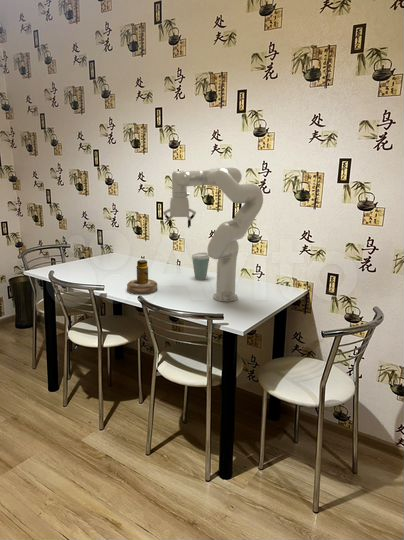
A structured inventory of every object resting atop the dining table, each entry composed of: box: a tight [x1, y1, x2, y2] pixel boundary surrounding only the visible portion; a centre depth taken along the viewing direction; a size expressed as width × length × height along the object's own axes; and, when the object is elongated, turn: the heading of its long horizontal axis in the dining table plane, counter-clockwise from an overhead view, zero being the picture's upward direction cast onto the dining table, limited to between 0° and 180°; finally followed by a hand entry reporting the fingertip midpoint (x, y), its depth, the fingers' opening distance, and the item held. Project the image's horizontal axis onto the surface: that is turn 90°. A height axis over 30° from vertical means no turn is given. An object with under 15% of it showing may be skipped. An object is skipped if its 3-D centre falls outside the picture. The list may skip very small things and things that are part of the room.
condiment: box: [131, 259, 150, 286], centre depth 228 cm, size 7×8×12 cm
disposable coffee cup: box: [191, 252, 211, 281], centre depth 252 cm, size 11×11×15 cm
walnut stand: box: [126, 278, 158, 295], centre depth 230 cm, size 16×16×4 cm
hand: (179, 227), depth 230 cm, fingers open, 9 cm apart
